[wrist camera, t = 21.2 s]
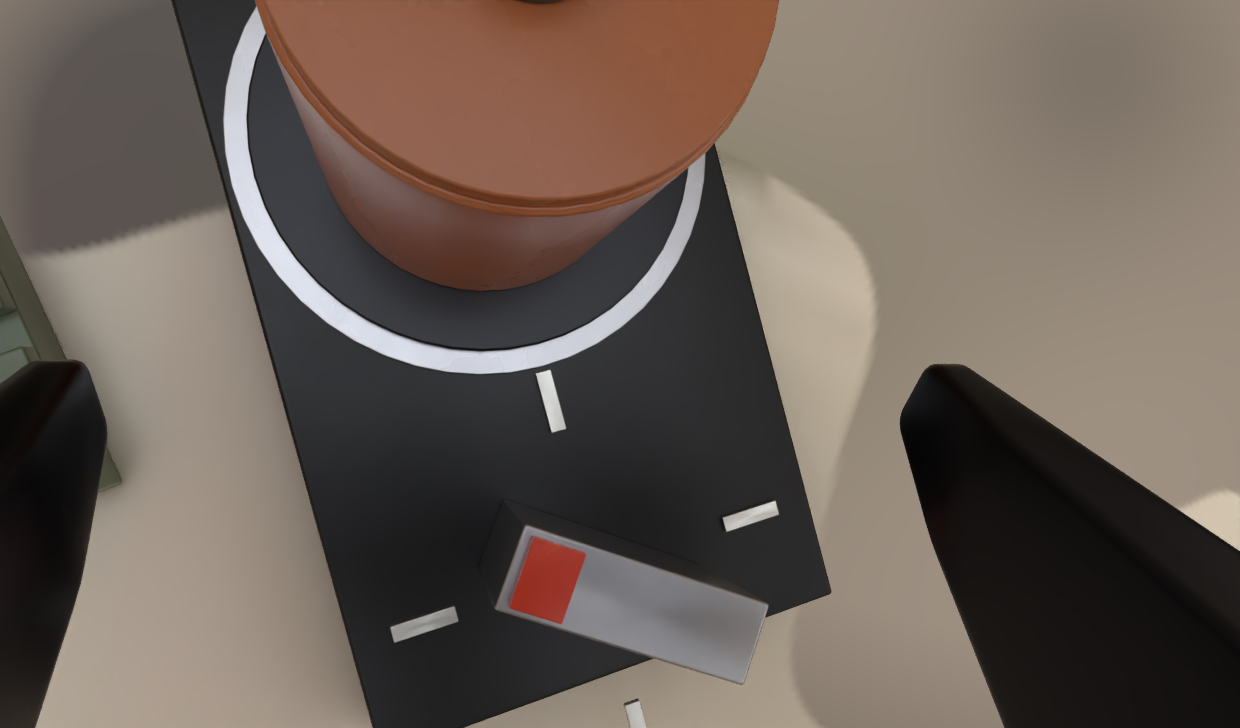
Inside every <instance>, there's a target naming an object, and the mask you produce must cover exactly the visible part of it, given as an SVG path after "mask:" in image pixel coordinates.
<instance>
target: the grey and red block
mask: <svg viewBox="0 0 1240 728" xmlns="http://www.w3.org/2000/svg"><path fill="white" fill-rule="evenodd" d="M479 568H480V571H481V573H482V576H483V579H484V581H485V584H486V587H487V589H488V592H489V595H490V597H491V600H492V602H493V605H494V608H495V609H496V610H497V611H500V612H503V613H507V614H510V615H513V616H516V617H520V618H523V619H526V620H530V621H533V622H536V623H539V624H543V625H546V626H549V627H553V628H556V629H559V630H562V631H566V632H569V633H572V634H575V635H579V636H582V637H585V638H589V639H592V640H595V641H598V642H602V643H605V644H608V645H612V646H615V647H618V648H621V649H625V650H628V651H631V652H635V653H638V654H641V655H644V656H648V657H651V658H654V659H658V660H661V661H664V662H667V663H671V664H674V665H677V666H680V667H684V668H687V669H690V670H694V671H697V672H700V673H703V674H707V675H710V676H713V677H717V678H720V679H723V680H726V681H730V682H733V683H736V684H740V685H743V684H744V682H745V678H746V675H747V672H748V669H749V666H750V663H751V660H752V657H753V654H754V650H755V647H756V644H757V641H758V638H759V635H760V632H761V629H762V625H763V622H764V619H765V616H766V613H767V610H768V604H767V603H766V602H764V601H763V600H761V599H759V598H757V597H756V596H754V595H752V594H751V593H749V592H747V591H746V590H744V589H742V588H740V587H739V586H737V585H735V584H734V583H732V582H730V581H729V580H727V579H725V578H723V577H722V576H720V575H718V574H717V573H715V572H713V571H712V570H710V569H708V568H706V567H705V566H703V565H700V564H697V563H694V562H691V561H688V560H685V559H682V558H679V557H676V556H673V555H670V554H667V553H664V552H661V551H658V550H655V549H652V548H649V547H646V546H643V545H640V544H637V543H634V542H631V541H628V540H626V539H623V538H620V537H617V536H614V535H611V534H608V533H605V532H602V531H599V530H596V529H593V528H590V527H587V526H584V525H581V524H578V523H575V522H572V521H569V520H566V519H563V518H560V517H557V516H554V515H551V514H548V513H545V512H542V511H539V510H536V509H533V508H530V507H527V506H524V505H521V504H518V503H515V502H512V501H509V500H503V502H502V505H501V507H500V510H499V513H498V516H497V518H496V521H495V524H494V527H493V529H492V532H491V535H490V538H489V540H488V543H487V546H486V549H485V551H484V554H483V557H482V560H481V562H480V565H479Z"/></svg>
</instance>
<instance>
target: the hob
mask: <svg viewBox="0 0 1240 728" xmlns="http://www.w3.org/2000/svg"><path fill="white" fill-rule="evenodd" d="M171 1H172V5H173V8H174V12H175V16H176V19H177V23H178V26H179V30H180V33H181V37H182V40H183V44H184V48H185V51H186V55H187V59H188V62H189V66H190V69H191V73H192V77H193V81H194V84H195V88H196V91H197V95H198V99H199V102H200V105H201V109H202V113H203V117H204V120H205V123H206V127H207V131H208V135H209V138H210V142H211V146H212V149H213V153H214V156H215V160H216V164H217V167H218V171H219V174H220V178H221V182H222V185H223V189H224V192H225V196H226V200H227V203H228V207H229V211H230V214H231V218H232V221H233V225H234V229H235V232H236V236H237V239H238V243H239V247H240V250H241V254H242V257H243V261H244V265H245V268H246V272H247V276H248V279H249V283H250V286H251V290H252V294H253V297H254V301H255V304H256V308H257V312H258V315H259V319H260V322H261V326H262V330H263V333H264V337H265V341H266V344H267V348H268V351H269V355H270V359H271V362H272V366H273V369H274V373H275V377H276V380H277V384H278V387H279V391H280V395H281V398H282V402H283V406H284V409H285V413H286V416H287V420H288V424H289V427H290V431H291V434H292V438H293V442H294V445H295V449H296V452H297V456H298V460H299V463H300V467H301V471H302V474H303V478H304V481H305V485H306V489H307V492H308V496H309V499H310V503H311V507H312V510H313V514H314V517H315V521H316V525H317V528H318V532H319V536H320V539H321V543H322V546H323V550H324V554H325V557H326V561H327V564H328V568H329V572H330V575H331V579H332V582H333V586H334V590H335V593H336V597H337V601H338V604H339V608H340V611H341V615H342V619H343V622H344V626H345V629H346V633H347V637H348V640H349V644H350V647H351V651H352V655H353V658H354V662H355V666H356V669H357V673H358V676H359V680H360V684H361V687H362V691H363V694H364V698H365V702H366V705H367V709H368V712H369V716H370V720H371V723H372V727H373V728H464V727H467V726H469V725H472V724H475V723H478V722H480V721H483V720H486V719H489V718H491V717H494V716H497V715H500V714H502V713H505V712H508V711H511V710H513V709H516V708H519V707H522V706H524V705H527V704H530V703H533V702H535V701H538V700H541V699H544V698H546V697H549V696H552V695H555V694H557V693H560V692H563V691H565V690H568V689H571V688H574V687H576V686H579V685H582V684H585V683H587V682H590V681H593V680H596V679H598V678H601V677H604V676H607V675H609V674H612V673H615V672H618V671H620V670H623V669H626V668H629V667H631V666H634V665H637V664H640V663H642V662H645V661H648V660H651V659H653V658H651V657H648V656H644V655H641V654H638V653H635V652H631V651H628V650H625V649H621V648H618V647H615V646H612V645H608V644H605V643H602V642H598V641H595V640H592V639H589V638H585V637H582V636H579V635H575V634H572V633H569V632H566V631H562V630H559V629H556V628H553V627H549V626H546V625H543V624H539V623H536V622H533V621H530V620H526V619H523V618H520V617H516V616H513V615H510V614H507V613H503V612H500V611H497V610H496V609H495V608H494V605H493V602H492V600H491V597H490V595H489V592H488V589H487V587H486V584H485V581H484V579H483V576H482V573H481V571H480V568H479V565H480V562H481V560H482V557H483V554H484V551H485V549H486V546H487V543H488V540H489V538H490V535H491V532H492V529H493V527H494V524H495V521H496V518H497V516H498V513H499V510H500V507H501V505H502V502H503V500H509V501H512V502H515V503H518V504H521V505H524V506H527V507H530V508H533V509H536V510H539V511H542V512H545V513H548V514H551V515H554V516H557V517H560V518H563V519H566V520H569V521H572V522H575V523H578V524H581V525H584V526H587V527H590V528H593V529H596V530H599V531H602V532H605V533H608V534H611V535H614V536H617V537H620V538H623V539H626V540H628V541H631V542H634V543H637V544H640V545H643V546H646V547H649V548H652V549H655V550H658V551H661V552H664V553H667V554H670V555H673V556H676V557H679V558H682V559H685V560H688V561H691V562H694V563H697V564H700V565H703V566H705V567H706V568H708V569H710V570H712V571H713V572H715V573H717V574H718V575H720V576H722V577H723V578H725V579H727V580H729V581H730V582H732V583H734V584H735V585H737V586H739V587H740V588H742V589H744V590H746V591H747V592H749V593H751V594H752V595H754V596H756V597H757V598H759V599H761V600H763V601H764V602H766V603H767V604H768V610H767V613H766V616H765V618H766V617H769V616H771V615H774V614H777V613H780V612H782V611H785V610H788V609H790V608H793V607H796V606H799V605H801V604H804V603H807V602H809V601H812V600H815V599H818V598H821V597H823V596H826V595H829V594H830V593H831V588H830V584H829V580H828V576H827V573H826V569H825V565H824V561H823V557H822V553H821V550H820V546H819V542H818V538H817V534H816V530H815V527H814V523H813V519H812V515H811V511H810V507H809V504H808V500H807V496H806V492H805V488H804V484H803V481H802V477H801V473H800V469H799V465H798V461H797V458H796V454H795V450H794V446H793V442H792V438H791V435H790V431H789V427H788V423H787V419H786V415H785V412H784V408H783V404H782V400H781V396H780V392H779V389H778V385H777V381H776V377H775V373H774V369H773V366H772V362H771V358H770V354H769V350H768V346H767V343H766V339H765V335H764V331H763V327H762V323H761V320H760V316H759V312H758V308H757V304H756V300H755V297H754V293H753V289H752V285H751V281H750V277H749V274H748V270H747V266H746V262H745V258H744V254H743V251H742V247H741V243H740V239H739V235H738V231H737V227H736V224H735V220H734V216H733V212H732V208H731V204H730V201H729V197H728V193H727V189H726V185H725V181H724V178H723V174H722V170H721V166H720V162H719V158H718V155H717V151H716V147H715V143H714V144H713V145H712V146H711V147H710V149H709V150H708V151H707V152H706V155H705V174H704V184H703V189H702V195H701V200H700V206H699V210H698V213H697V216H696V220H695V223H694V226H693V229H692V232H691V235H690V238H689V240H688V242H687V244H686V246H685V248H684V250H683V252H682V254H681V257H680V259H679V261H678V263H677V264H676V266H675V267H674V269H673V270H672V272H671V273H670V275H669V277H668V278H667V280H666V281H665V283H664V284H663V286H662V287H661V288H660V289H659V290H658V292H657V293H656V294H655V295H654V296H653V297H652V299H651V300H650V301H649V302H648V303H647V305H646V306H645V307H644V308H643V309H642V310H641V311H640V312H638V313H637V314H636V315H635V316H634V317H633V318H632V319H631V320H629V321H628V322H627V323H626V324H625V325H624V326H623V327H621V328H620V329H619V330H617V331H616V332H614V333H613V334H611V335H610V336H608V337H607V338H605V339H604V340H602V341H601V342H599V343H598V344H596V345H594V346H592V347H590V348H588V349H586V350H584V351H582V352H580V353H578V354H576V355H574V356H572V357H569V358H566V359H563V360H560V361H557V362H554V363H551V364H549V365H546V366H543V367H538V368H533V369H528V370H523V371H518V372H513V373H501V374H486V375H473V374H458V373H446V372H441V371H436V370H431V369H426V368H421V367H416V366H413V365H410V364H407V363H404V362H401V361H398V360H395V359H392V358H389V357H386V356H383V355H381V354H379V353H377V352H375V351H373V350H371V349H369V348H367V347H365V346H363V345H361V344H359V343H356V342H355V341H353V340H352V339H350V338H348V337H347V336H345V335H344V334H342V333H341V332H339V331H338V330H336V329H335V328H333V327H332V326H330V325H328V324H327V323H326V322H325V321H323V320H322V319H321V318H320V317H319V316H318V315H316V314H315V313H314V312H313V311H312V310H310V309H309V308H308V307H307V306H306V305H305V304H303V303H302V302H301V301H300V300H299V299H298V298H297V297H296V296H295V294H294V293H293V292H292V291H291V290H290V289H289V288H288V287H287V286H286V285H285V283H284V282H283V281H282V280H281V279H280V278H279V277H278V276H277V274H276V273H275V271H274V270H273V268H272V267H271V266H270V264H269V263H268V261H267V260H266V258H265V257H264V256H263V254H262V253H261V251H260V250H259V248H258V247H257V245H256V243H255V241H254V239H253V237H252V235H251V233H250V231H249V229H248V227H247V225H246V223H245V221H244V219H243V217H242V214H241V211H240V209H239V206H238V203H237V200H236V197H235V194H234V192H233V189H232V186H231V181H230V176H229V171H228V166H227V161H226V156H225V147H224V131H223V112H224V101H225V89H226V84H227V79H228V75H229V71H230V66H231V62H232V58H233V54H234V52H235V49H236V47H237V44H238V42H239V39H240V37H241V34H242V32H243V29H244V27H245V25H246V23H247V21H248V19H249V18H250V16H251V14H252V13H253V11H254V9H255V7H256V3H255V1H254V0H171ZM623 705H624V708H625V712H626V716H627V720H628V723H629V727H630V728H647V727H646V723H645V719H644V716H643V712H642V708H641V704H640V701H639V699H638V698H637V699H634V700H631V701H629V702H626V703H624V704H623Z"/></svg>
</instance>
